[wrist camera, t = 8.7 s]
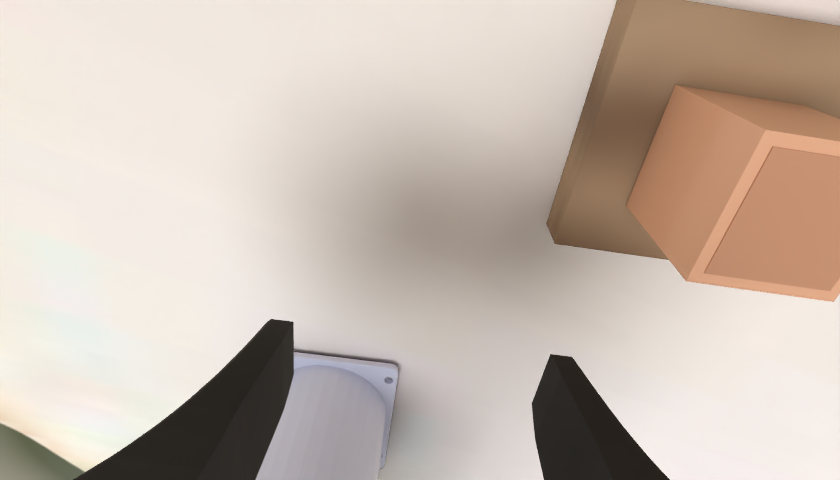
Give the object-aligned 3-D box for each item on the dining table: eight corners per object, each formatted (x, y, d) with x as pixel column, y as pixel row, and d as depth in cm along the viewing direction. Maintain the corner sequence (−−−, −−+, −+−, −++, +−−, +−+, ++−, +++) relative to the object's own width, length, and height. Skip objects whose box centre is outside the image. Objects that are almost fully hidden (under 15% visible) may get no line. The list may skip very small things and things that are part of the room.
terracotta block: (739, 222, 20) (834, 302, 15) (626, 205, 20) (686, 281, 15) (804, 105, 18) (941, 158, 13) (675, 84, 17) (766, 130, 13)
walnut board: (740, 245, 24) (770, 274, 21) (544, 217, 23) (554, 243, 21) (863, 30, 19) (918, 39, 16) (615, -11, 18) (638, -7, 16)
